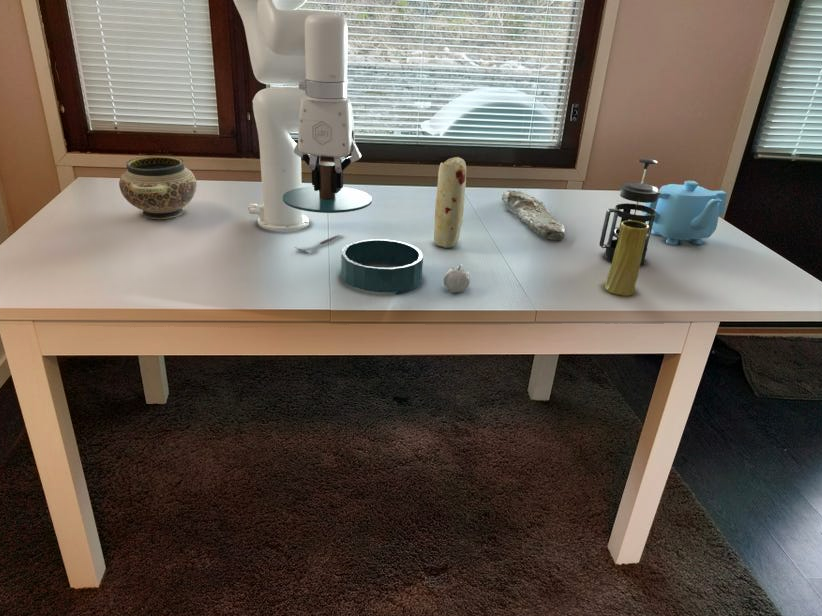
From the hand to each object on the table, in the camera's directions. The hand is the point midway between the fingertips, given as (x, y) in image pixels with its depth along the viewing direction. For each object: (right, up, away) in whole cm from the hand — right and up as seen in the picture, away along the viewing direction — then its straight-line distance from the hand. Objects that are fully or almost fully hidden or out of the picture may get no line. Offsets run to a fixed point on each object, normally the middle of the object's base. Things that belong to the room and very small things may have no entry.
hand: (327, 189), depth 128 cm
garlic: (+26, -20, +4) cm, 33 cm away
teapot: (+86, -3, +38) cm, 94 cm away
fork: (-4, -8, +22) cm, 23 cm away
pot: (+10, -17, +7) cm, 21 cm away
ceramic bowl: (-46, +3, +36) cm, 58 cm away
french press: (+66, -10, +24) cm, 71 cm away
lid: (0, -2, +1) cm, 2 cm away
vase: (+60, -19, +8) cm, 64 cm away
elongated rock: (+50, +4, +47) cm, 68 cm away
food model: (+25, -6, +27) cm, 38 cm away
